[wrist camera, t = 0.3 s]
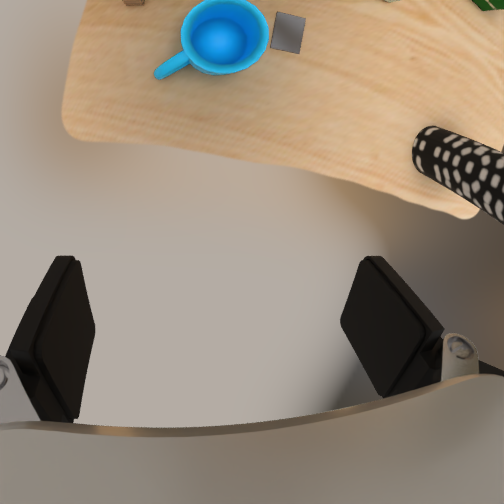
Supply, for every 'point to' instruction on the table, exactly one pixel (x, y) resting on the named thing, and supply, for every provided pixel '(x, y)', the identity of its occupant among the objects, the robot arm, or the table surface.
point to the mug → (219, 38)
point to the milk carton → (489, 4)
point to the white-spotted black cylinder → (462, 167)
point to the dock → (275, 30)
